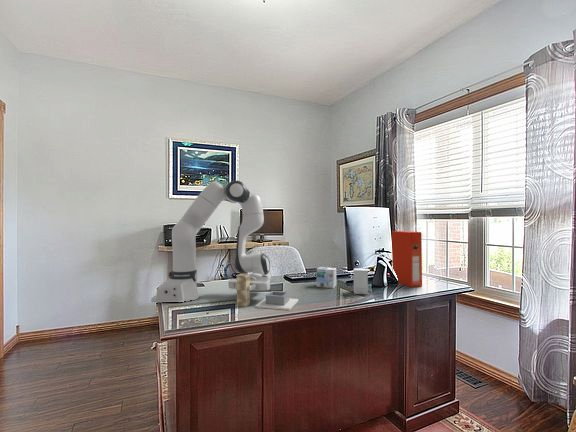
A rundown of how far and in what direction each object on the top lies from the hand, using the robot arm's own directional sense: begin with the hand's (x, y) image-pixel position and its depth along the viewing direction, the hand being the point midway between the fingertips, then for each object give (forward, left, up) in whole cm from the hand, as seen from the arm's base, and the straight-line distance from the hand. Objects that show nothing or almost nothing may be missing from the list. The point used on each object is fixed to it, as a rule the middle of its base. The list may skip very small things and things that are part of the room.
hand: (242, 288), depth 142 cm
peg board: (+16, +2, -8) cm, 18 cm away
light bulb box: (+45, +38, -8) cm, 60 cm away
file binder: (+95, +42, -8) cm, 104 cm away
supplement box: (+61, +22, -8) cm, 66 cm away
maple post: (0, +1, -8) cm, 8 cm away
